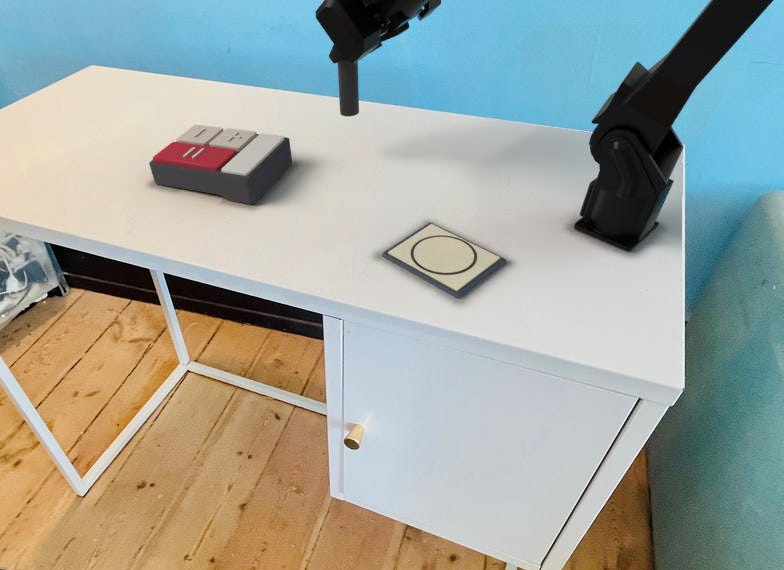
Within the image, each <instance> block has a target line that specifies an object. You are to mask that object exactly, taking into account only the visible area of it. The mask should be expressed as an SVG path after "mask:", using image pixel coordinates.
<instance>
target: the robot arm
mask: <svg viewBox="0 0 784 570" xmlns="http://www.w3.org/2000/svg"><path fill="white" fill-rule="evenodd" d="M773 2H774V0H709V1H708V3H707V4H706V5H705V6H704V8H703V9H702V10H701V11H700V13H698V15H697V17H696V18H695V19H694V20H693V22H692V23H691V24H690V25H689V27H688V28H687V29H686V31H684V33H683V34H682V35H681V37H680V38H679V39H678V40H677V41H676V43H675V44H674V45H673V46H672V47H671V49H670V50H669V51H668V52H667V53H666V54H665V55H664V56H663V57H662V58H660V59H659V60H658V61H657V62H656V63H655V64H654V65H652V66H651V67H650V68H649V69H647V68H646V67H645V66H644V65H643V64H642V63H641V62H640V61H636V62H635V63H634V65H633V66H632V67H631V69H630V70H629V71H628V73H627V75H626V76H625V77H624V79H623V80H622V82H620V84H619V86H618V88H617V89H616V91H614V92H612V94H610V95H609V97H608V98H607V99H606V101H604V103H603V105H602V106H601V107H600V109H599V110H598V111H597V113H596V114H595V115H594V117H593V118H592V120H591V124H592V125H596V126H595V128H594V129H593V131H592V133H591V135H590V137H589V141H588V145H589V150H590V155H591V157H592V158H593V160H594V162H596V163H597V164H598V165H599V171H598V173H597V176H596V178H594V179H593V180H591V181H590V182H589V184H588V187H587V190H586V193H585V196H584V199H583V202H582V205H581V208H580V210H579V216H580V217H581V218H579V219H578V220H577V221H576V222H574V225H573V229H574V230H576V231H578V232H581V233H583V234H585V235H588V236H590V237H593V238H594V239H597V240H600V241H602V242H605V243H606V244H610V245H612V246H613V247H616V248H619V249H621V250H623V251H626V252H632V251H634V250H635V249H636V248H637V247H639V245H640V244H642V242H644V241H645V240H646V239H647V238H648V237H649V236H650V235H652V234H653V233H654V232H655V231H656V230H657V229H658V228H659V227H660V222H659V221H657V219H658V217H659V215H660V213H661V210H662V209H663V206H664V204H665V201H666V200H667V198H668V195H669V193H670V191H671V189H672V187H673V184H674V183H675V182H674V181H675V180H673V179H671V176H672V174H673V171H674V169H675V167H676V165H677V163H678V161H679V159H680V156H681V155H682V152H683V151H684V145H683V143H682V141H681V140H680V138H679V136H678V135H677V133H676V132H675V130H674V128H673V124H674V123H675V121H676V120H677V118H678V117H679V115H680V113H681V112H682V110H683V108H684V107H685V105H686V104H687V102H688V101H689V99H690V98H691V95H693V93H694V91H695V89H696V88H697V87H698V86H699V84H701V82H703V80H705V78H706V77H707V75H708V74H710V72H711V71H712V70H713V69H715V66H716V65H717V64H718V63H719V62H720V61H721V60H722V59H723V58H724V57H725V55H726V54H727V53H728V52H729V51H730V50H731V49H732V47H734V45H735V44H736V43H737V42H738V41H739V40H740V39H741V38H742V36H743V35H745V33H746V32H747V31H748V30H749V29H750V27H752V25H753V24H754V23H755V22H756V21H757V20H758V19H759V17H760V16H761V15H762V14H763V13H764V12H765V11H766V10H767V9H768V7H769V6H770V5H771V4H772V3H773ZM440 5H442V0H323V1H322V3H321V4H320V5H319V6H318V8H317V9H316V10H315V19H316V20H317V22H318V23H319V25H320V26H321V28H322V29H323V30H324V32H325V33H326V35H327V36H328V38H329V39H330V41H331V42H332V43H333V45H332V47H331V49H330V52H329V54H328V59H330V61H331V62H332V63H333V64H338V62H341V61H344V60H345V61H346V62H348V63H350V64H352V65H353V64H354V63H356V62H357V61H358V62H359V61H360V60H361V61H362V59H364V58H365V57H367V55H369V54H372V53H373V52H375V51H376V50H378V49H379V48H381V47H383V43H382V42H385V41H388V40H390V39H392V38H395V37H398V36H400V35H401V34H402V33H403V34H404V32H406V31H407V30H409V29H410V23H409V21H411V20H413V19H415V18H416V17H417V19H418V20H419V22H421V21H423V20H424V19H425V18H427V17H429V16H431V14H432V13H434V11H435V10H436V9H438V7H440Z"/></svg>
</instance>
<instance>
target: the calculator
mask: <svg viewBox="0 0 784 570" xmlns="http://www.w3.org/2000/svg"><path fill="white" fill-rule="evenodd" d="M148 164H149V168H150V172H151V175H152V178H153V181H154V184H156V185H158V186H159V185H160V186H165V187H171V188H177V189H182V190H183V189H184V190H189V191H195V192H201V193H208V194H213V195H220V196H222V198H224V199H226V201H229V202H236V203H242V204H248V205H254V204H255V203H257V201H258V200H259V199H260V198H261V197H263V195H264V194H265V193H266V192H267V191H268V190H269V189H270V188H271V187H272V186H273V185H274V184H275V182H277V181H278V180H279V178H281V176H282V175H283V174H284V173H286V171H287V170H288V169H289V168H290V167H291V166H292V165H293V156H292V149H291V139H290V138H289V137H286V136H284V135H278V134H269V133H257V131H255V130H248V129H238V128H229V127H228V128H225V129H224V128H223V127H222V126H221V127H220V126H213V125H212V126H211V125H203V124H202V125H201V124H194V125H192V126H190V128H189V129H187V130H186V131H184V132H183V133H182V134H181V135H180V136H178V137H177V138H176V141H171V142H170V143H169V144H168V145H166V146H165V147H164V148H163V149H161V150H160V151H158V152H157V153H156V154H155V155H154V156H153V157H152V160H150V161H149V163H148Z"/></svg>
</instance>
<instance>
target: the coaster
mask: <svg viewBox="0 0 784 570" xmlns="http://www.w3.org/2000/svg"><path fill="white" fill-rule="evenodd" d="M381 257H383V258H385V259H386V260H387V261H390V262H392V263H393V264H395V265H397V266H399V267H401V268H402V269H404V270H406V271H408V272H410V273H412V274H413V275H415V276H416V277H419V278H420V279H422V280H424V281H426V282H427V283H429V284H431V285H432V286H434V287H436V288H438V289H440V290H442V291H443V292H446V293H447V294H449V295H450V296H452V297H454V298H456V299H460V298H461V297H463V296H464V295H465V294H466V293H468V292H469V291H470V290H472V289H473V288H474V287H476V286H477V285H478V284H479V283H481V282H483V281H484V280H485V279H486V278H488V276H490V275H491V274H493V273H494V272H495V271H497V270H498V269H499V268H500V267H502V266H503V265H504V264H506V263H507V258H505V257H502V256H500V255H498V254H496V253H495V252H493V251H490V250H489V249H486V248H484V247H482V246H480V245H479V244H476V243H473V242H472V241H469V240H468V239H466V238H463V237H461V236H459V235H458V234H456V233H453V232H451V231H449V230H447V229H445V228H443V227H441V226H439V225H437V224H434V223H433V222H430V221H429V222H428V223H426V224H425V225H423V226H422V227H420V228H419V229H417V230H416V231H414V232H413V233H411V234H409V235H408V236H406V237H405V238H403V239H402V240H400V241H398V242H396V244H394V245H393V246H390V247H389V248H388V249H386V250H385V251H383V252H382V253H381Z"/></svg>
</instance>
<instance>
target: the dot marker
mask: <svg viewBox="0 0 784 570" xmlns="http://www.w3.org/2000/svg"><path fill="white" fill-rule="evenodd" d="M337 78H338V80H337V81H338V99H339V114H340V115H341V117H354V116H357V115H358V114H359V113H360V102H359V101H360V98H359V96H360V93H359V91H360V90H359V61H357V62H356V63H354V64H353V65H352V64H350V63H348V62H346V61H345V60H344V61H341V62H338V63H337Z"/></svg>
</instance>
